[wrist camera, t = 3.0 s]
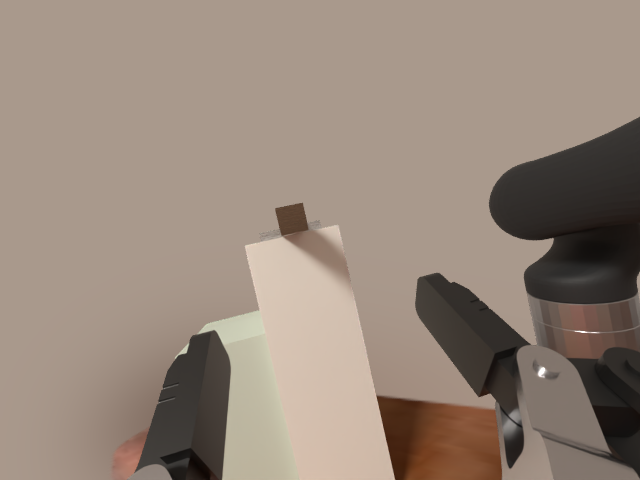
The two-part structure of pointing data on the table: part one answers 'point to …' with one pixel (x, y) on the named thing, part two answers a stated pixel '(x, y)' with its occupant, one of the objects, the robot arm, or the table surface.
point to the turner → (290, 223)
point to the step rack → (301, 370)
